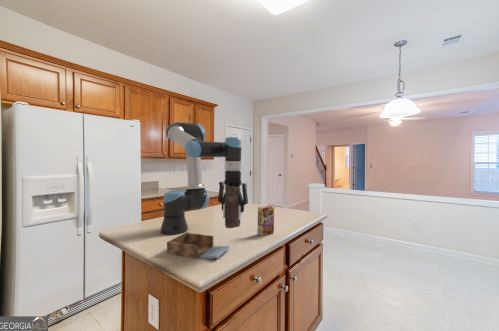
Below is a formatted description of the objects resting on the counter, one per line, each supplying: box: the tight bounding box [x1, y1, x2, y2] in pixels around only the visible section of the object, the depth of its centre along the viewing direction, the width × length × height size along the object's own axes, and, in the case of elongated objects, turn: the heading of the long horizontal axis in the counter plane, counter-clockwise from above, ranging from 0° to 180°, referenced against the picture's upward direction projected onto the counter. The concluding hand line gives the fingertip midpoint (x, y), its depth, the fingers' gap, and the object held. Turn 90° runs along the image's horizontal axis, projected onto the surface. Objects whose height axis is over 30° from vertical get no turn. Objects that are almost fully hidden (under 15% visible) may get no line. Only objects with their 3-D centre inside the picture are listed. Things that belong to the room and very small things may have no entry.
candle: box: [224, 185, 241, 229], centre depth 110 cm, size 8×7×20 cm
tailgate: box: [197, 245, 230, 260], centre depth 100 cm, size 1×12×9 cm
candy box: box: [256, 205, 275, 237], centre depth 129 cm, size 9×4×15 cm, turn 123°
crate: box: [166, 231, 214, 259], centre depth 104 cm, size 15×14×6 cm
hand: (232, 217), depth 110 cm, fingers closed on candle, 7 cm apart
